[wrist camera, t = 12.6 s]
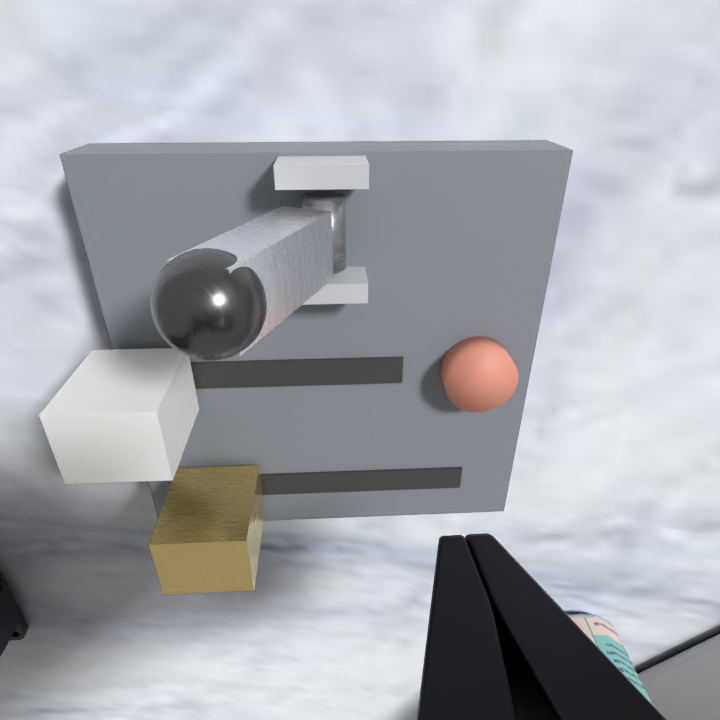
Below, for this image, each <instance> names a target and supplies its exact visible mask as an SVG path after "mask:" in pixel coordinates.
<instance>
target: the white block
mask: <svg viewBox="0 0 720 720" xmlns="http://www.w3.org/2000/svg"><path fill="white" fill-rule="evenodd" d="M198 411H199V405H198V400H197V395H196V389H195V384H194V379H193V374H192V368H191V363H190V358H189V357H188V356H186V355H183V354H182V353H180V352H178V351H177V350H175V349H174V348H155V349H114V350H91V352H90V353H89V354H88V355H87V357H86V358H85V359H84V360H83V362H82V363H81V364H80V365H79V366H78V368H77V369H76V370H75V371H74V373H73V374H72V375H71V376H70V378H69V379H68V380H67V381H66V382H65V384H64V385H63V386H62V387H61V389H60V390H59V391H58V392H57V394H56V395H55V396H54V397H53V398H52V400H51V401H50V402H49V403H48V405H47V406H46V407H45V408H44V410H43V411H42V412H41V413H40V414H39V417H40V420H41V422H42V425H43V428H44V430H45V433H46V435H47V438H48V441H49V443H50V446H51V449H52V451H53V454H54V456H55V459H56V462H57V464H58V467H59V470H60V472H61V475H62V478H63V480H64V483H65V484H87V483H115V482H143V481H171V480H173V479H174V476H175V473H176V470H177V468H178V465H179V462H180V460H181V457H182V454H183V452H184V449H185V446H186V443H187V441H188V438H189V435H190V433H191V430H192V427H193V424H194V422H195V419H196V416H197V414H198Z"/></svg>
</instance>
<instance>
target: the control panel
mask: <svg viewBox="0 0 720 720" xmlns="http://www.w3.org/2000/svg"><path fill="white" fill-rule="evenodd" d="M638 676H639V678H640V680H641V682H642V684H643V686H644V688H645V690H646V692H647V694H648V696H649V698H650V700H651V702H652V704H653V706H654V707H655V708H656V709H657V710H658V711H659V712H660V713H661V714H662V715H663V716H664V717H665V718H666V720H720V634H718V635H716V636H714V637H712V638H710V639H708V640H706V641H704V642H702V643H700V644H698V645H696V646H694V647H691V648H689V649H687V650H685V651H683V652H681V653H679V654H677V655H675V656H673V657H671V658H669V659H667V660H665V661H663V662H661V663H659V664H657V665H655V666H653V667H650V668H648V669H646V670H644V671H642V672H640V673H638Z"/></svg>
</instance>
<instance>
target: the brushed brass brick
mask: <svg viewBox="0 0 720 720" xmlns="http://www.w3.org/2000/svg"><path fill="white" fill-rule="evenodd" d="M264 517H265V506H264V498H263V490H262V482H261V474H260V467H259V465H249V466H220V467H192V468H177V470H176V473H175V476H174V479H173V480H172V483H171V486H170V488H169V491H168V494H167V496H166V499H165V502H164V504H163V507H162V510H161V513H160V515H159V518H158V521H157V523H156V526H155V529H154V531H153V534H152V537H151V540H150V542H149V548H150V552H151V555H152V558H153V562H154V565H155V569H156V572H157V575H158V579H159V582H160V585H161V589H162V592H163V595H166V594H188V593H210V592H232V591H254V589H255V581H256V574H257V567H258V560H259V553H260V546H261V538H262V531H263V524H264Z"/></svg>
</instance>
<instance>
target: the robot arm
mask: <svg viewBox="0 0 720 720" xmlns="http://www.w3.org/2000/svg"><path fill="white" fill-rule="evenodd" d="M28 629H29V628H28V625H27V623H26V621H25V619H24V617H23V615H22V613H21V612H20V610H19V608H18V606H17V604H16V602H15V600H14V598H13V596H12V594H11V592H10V590H9V589H8V587H7V585H6V583H5V581H4V579H3V577H2V575H1V573H0V656H1V655H2V653H3V651H4V649H5V647H6V646H7V644H8V642H9V640H20V639H22V638H24V636H25V634H26V632H27V630H28ZM417 720H666V718H665V717H664V716H663V715H662V714H661V713H660V712H659V711H658V710H657V709H656V708H655V707H654V706H653V705H652V704H651V703H650V702H649V700H648V699H647V698H646V697H645V696H644V695H643V694H642V693H641V692H640V691H639V690H638V689H637V688H636V687H635V686H634V685H633V684H632V683H631V681H630V680H629V679H628V678H627V677H626V676H625V675H624V674H623V673H622V672H621V671H620V670H619V669H618V668H617V667H616V666H615V665H614V663H613V662H612V661H611V660H610V659H609V658H608V657H607V656H606V655H605V654H604V653H603V652H602V651H601V650H600V649H599V648H598V647H597V646H596V644H595V643H594V642H593V641H592V640H591V639H590V638H589V637H588V636H587V635H586V634H585V633H584V632H583V631H582V630H581V629H580V628H579V626H578V625H577V624H576V623H575V622H574V621H573V620H572V619H571V618H570V617H569V616H568V615H567V614H566V613H565V612H564V611H563V610H562V608H561V607H560V606H559V605H558V604H557V603H556V602H555V601H554V600H553V599H552V598H551V597H550V596H549V595H548V594H547V593H546V592H545V591H544V589H543V588H542V587H541V586H540V585H539V584H538V583H537V582H536V581H535V580H534V579H533V578H532V577H531V576H530V575H529V574H528V573H527V571H526V570H525V569H524V568H523V567H522V566H521V565H520V564H519V563H518V562H517V561H516V560H515V559H514V558H513V557H512V556H511V555H510V554H509V552H508V551H507V550H506V549H505V548H504V547H503V546H502V545H501V544H500V543H499V542H498V541H497V540H496V539H495V538H494V537H493V536H492V535H490V534H469V535H467V536H466V537H464V536H462V535H452V536H441V537H440V538H439V543H438V551H437V559H436V567H435V575H434V584H433V592H432V600H431V608H430V616H429V625H428V633H427V641H426V649H425V657H424V666H423V674H422V682H421V690H420V698H419V707H418V715H417Z"/></svg>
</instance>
